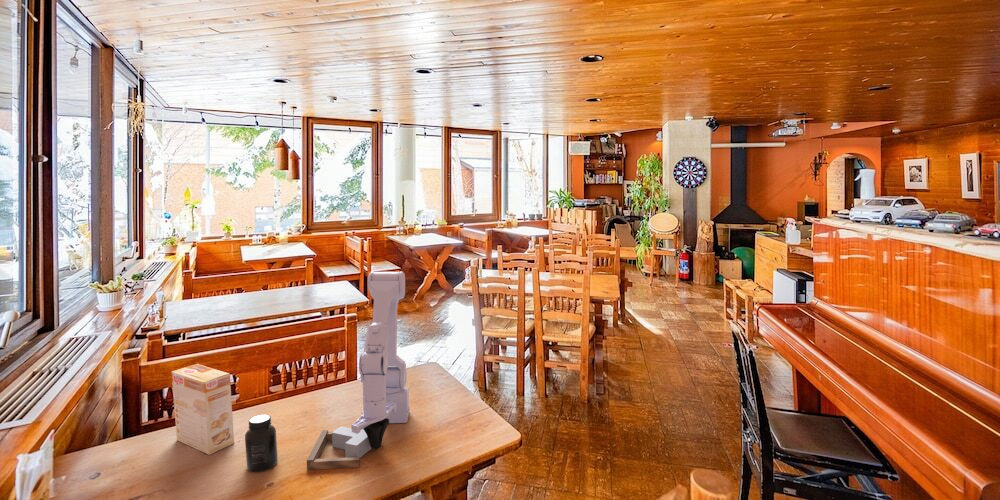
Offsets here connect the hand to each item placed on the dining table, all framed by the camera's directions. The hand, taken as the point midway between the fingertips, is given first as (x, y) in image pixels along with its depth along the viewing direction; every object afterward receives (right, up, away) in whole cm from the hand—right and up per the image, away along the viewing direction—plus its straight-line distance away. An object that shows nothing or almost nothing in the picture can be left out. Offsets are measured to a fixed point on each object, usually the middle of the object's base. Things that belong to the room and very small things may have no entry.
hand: (375, 447), depth 124 cm
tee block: (-7, -1, +2) cm, 7 cm away
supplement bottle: (-26, -2, -6) cm, 27 cm away
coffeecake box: (-47, 0, +4) cm, 47 cm away
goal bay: (-9, -1, -1) cm, 10 cm away
